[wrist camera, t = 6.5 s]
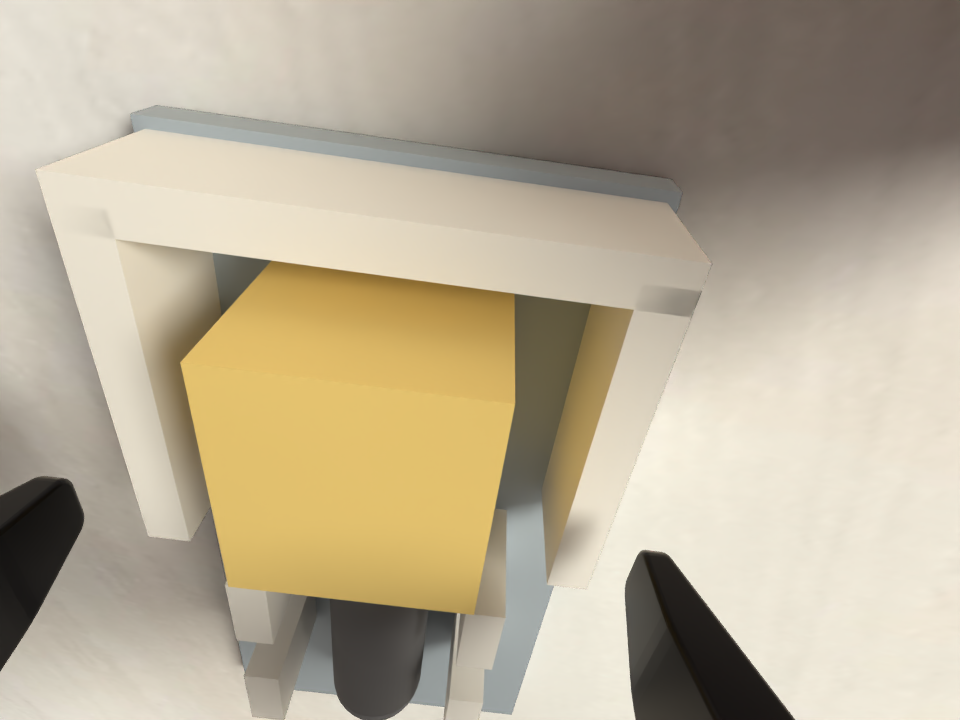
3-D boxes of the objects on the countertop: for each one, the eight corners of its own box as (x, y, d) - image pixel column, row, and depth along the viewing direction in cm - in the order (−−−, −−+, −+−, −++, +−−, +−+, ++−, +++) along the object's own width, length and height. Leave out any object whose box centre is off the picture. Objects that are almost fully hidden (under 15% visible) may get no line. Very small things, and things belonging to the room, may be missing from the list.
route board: (511, 690, 20) (511, 815, 17) (256, 661, 19) (209, 782, 16) (671, 179, 10) (741, 261, 7) (156, 105, 10) (-5, 156, 7)
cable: (449, 658, 17) (434, 817, 14) (320, 643, 17) (273, 800, 14) (513, 267, 10) (515, 404, 7) (291, 238, 10) (180, 362, 7)
